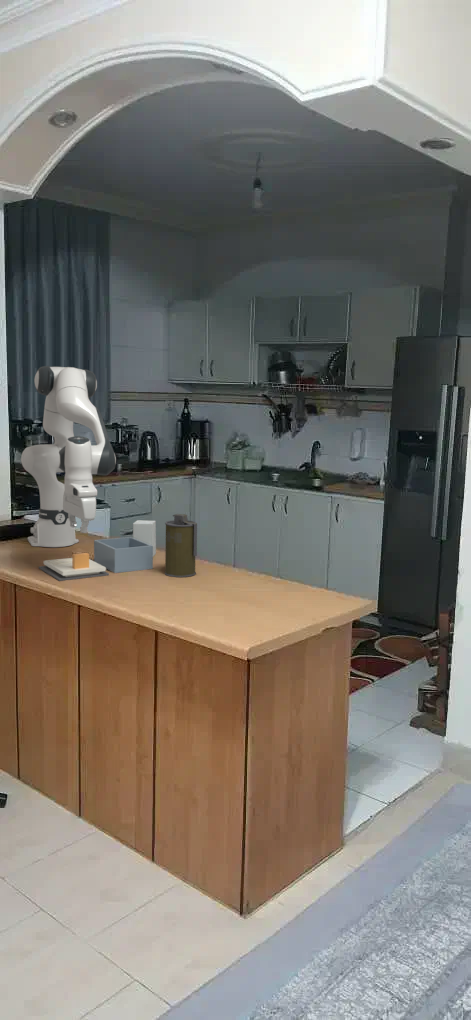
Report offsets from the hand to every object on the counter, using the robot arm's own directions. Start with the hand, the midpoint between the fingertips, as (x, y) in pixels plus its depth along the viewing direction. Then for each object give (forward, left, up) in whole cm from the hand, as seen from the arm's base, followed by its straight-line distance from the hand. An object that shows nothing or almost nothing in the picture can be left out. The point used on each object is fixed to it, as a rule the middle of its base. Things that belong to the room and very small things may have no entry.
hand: (78, 529), depth 257 cm
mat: (-6, 0, -15) cm, 16 cm away
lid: (-5, 0, -14) cm, 14 cm away
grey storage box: (-7, +19, -15) cm, 25 cm away
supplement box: (-19, +33, -15) cm, 41 cm away
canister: (+13, +31, -15) cm, 37 cm away
